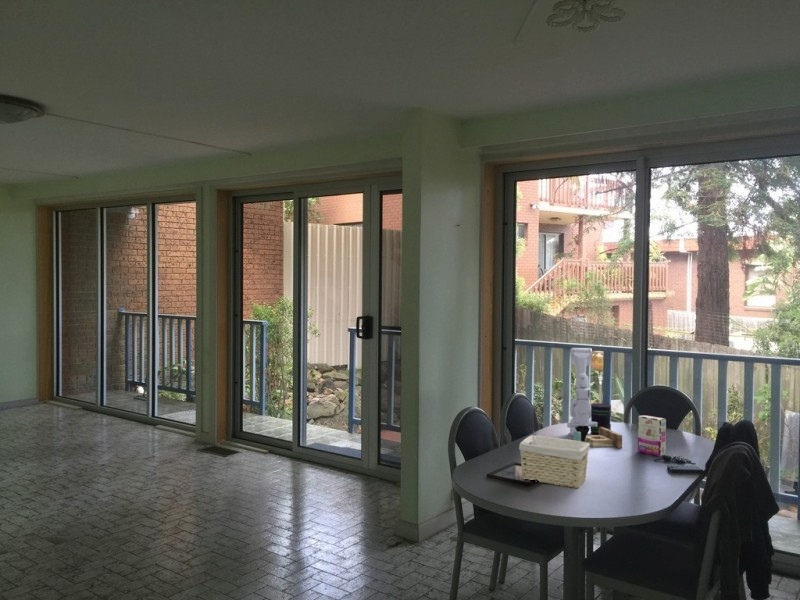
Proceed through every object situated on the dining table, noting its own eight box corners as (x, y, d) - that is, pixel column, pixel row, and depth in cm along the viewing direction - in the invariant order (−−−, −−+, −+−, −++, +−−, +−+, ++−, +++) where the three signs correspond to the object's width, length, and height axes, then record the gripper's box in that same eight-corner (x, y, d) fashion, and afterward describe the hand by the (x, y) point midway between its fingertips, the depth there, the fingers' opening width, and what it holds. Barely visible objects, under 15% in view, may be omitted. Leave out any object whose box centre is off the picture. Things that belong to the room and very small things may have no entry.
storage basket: (590, 479, 244) (591, 441, 244) (581, 491, 230) (581, 450, 230) (530, 470, 255) (530, 434, 255) (517, 481, 241) (518, 442, 241)
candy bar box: (666, 455, 280) (667, 418, 279) (660, 457, 277) (660, 419, 276) (643, 450, 289) (643, 414, 288) (637, 451, 286) (637, 415, 285)
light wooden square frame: (583, 441, 303) (583, 435, 303) (602, 441, 305) (602, 434, 305) (593, 447, 293) (593, 440, 293) (613, 446, 295) (613, 439, 295)
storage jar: (613, 433, 321) (613, 404, 320) (608, 437, 312) (608, 407, 312) (593, 431, 326) (593, 402, 326) (587, 435, 318) (588, 405, 317)
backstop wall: (598, 439, 309) (598, 426, 309) (602, 439, 310) (602, 426, 309) (618, 448, 291) (618, 435, 291) (622, 448, 292) (622, 435, 292)
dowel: (572, 448, 290) (572, 431, 290) (578, 448, 290) (578, 431, 290) (575, 450, 287) (575, 433, 287) (581, 450, 287) (582, 432, 287)
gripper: (572, 415, 292) (571, 444, 292) (600, 414, 295) (600, 443, 295) (565, 412, 299) (564, 441, 299) (593, 411, 302) (593, 440, 302)
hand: (582, 442), depth 298 cm, fingers closed
